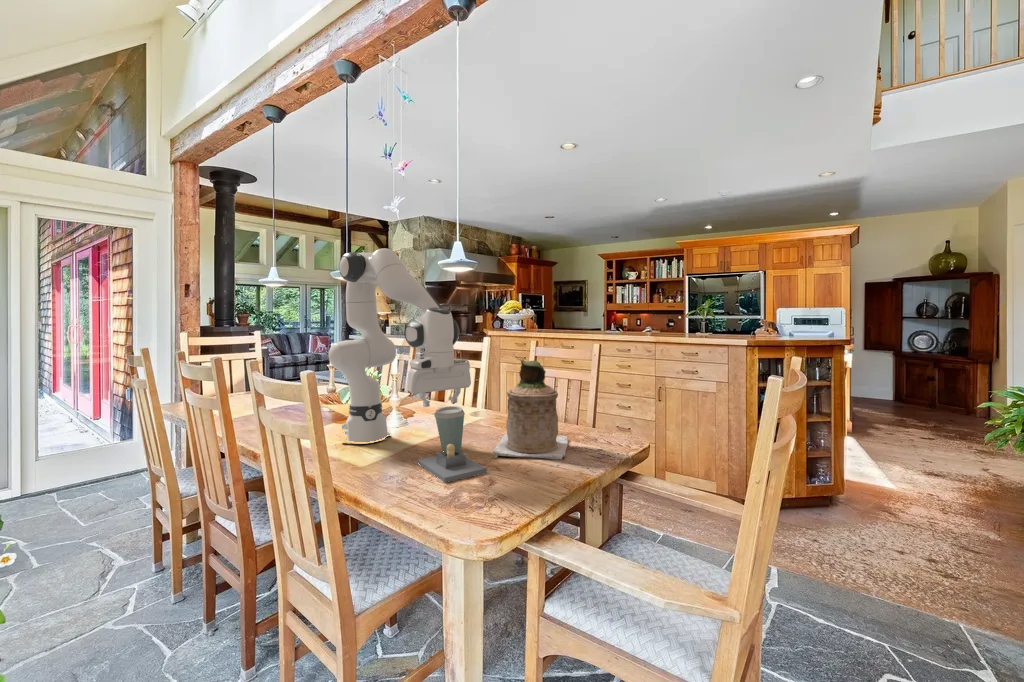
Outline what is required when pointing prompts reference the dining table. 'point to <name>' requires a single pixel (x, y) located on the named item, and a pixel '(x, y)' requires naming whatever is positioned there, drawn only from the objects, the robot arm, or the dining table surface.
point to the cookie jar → (532, 418)
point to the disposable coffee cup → (450, 426)
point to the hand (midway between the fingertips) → (440, 404)
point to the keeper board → (455, 472)
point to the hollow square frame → (450, 459)
